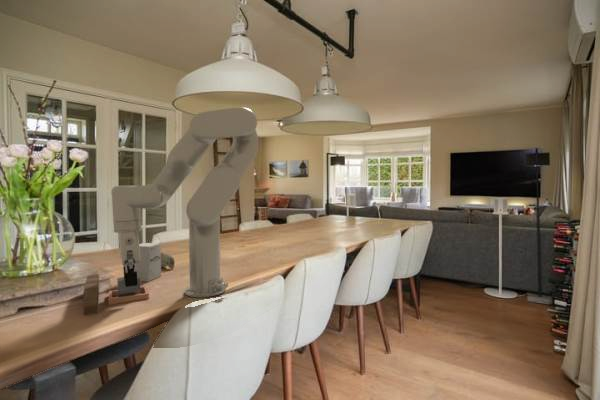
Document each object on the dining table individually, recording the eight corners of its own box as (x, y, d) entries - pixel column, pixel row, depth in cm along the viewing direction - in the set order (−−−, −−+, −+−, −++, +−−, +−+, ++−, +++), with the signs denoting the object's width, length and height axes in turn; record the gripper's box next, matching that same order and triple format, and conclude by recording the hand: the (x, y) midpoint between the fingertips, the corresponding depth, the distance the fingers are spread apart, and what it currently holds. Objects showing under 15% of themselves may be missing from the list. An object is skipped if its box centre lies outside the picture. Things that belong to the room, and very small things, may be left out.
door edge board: (97, 312, 91) (96, 290, 90) (84, 315, 89) (83, 292, 89) (99, 292, 108) (98, 273, 108) (88, 293, 107) (87, 274, 106)
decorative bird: (167, 271, 135) (167, 252, 134) (142, 266, 143) (142, 248, 142) (178, 268, 139) (178, 250, 139) (153, 263, 147) (153, 246, 147)
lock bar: (139, 294, 106) (138, 275, 106) (140, 297, 103) (140, 278, 103) (117, 297, 103) (117, 277, 103) (118, 301, 100) (117, 281, 100)
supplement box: (149, 281, 120) (148, 246, 119) (130, 280, 121) (130, 245, 120) (161, 276, 127) (161, 242, 126) (144, 275, 128) (143, 242, 128)
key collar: (146, 290, 110) (146, 286, 110) (149, 298, 102) (149, 293, 102) (108, 295, 104) (108, 291, 104) (108, 304, 97) (108, 299, 97)
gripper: (143, 228, 97) (146, 286, 98) (139, 222, 112) (141, 273, 113) (113, 230, 93) (117, 291, 94) (113, 224, 108) (116, 277, 109)
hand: (130, 281), depth 103 cm, fingers open, 9 cm apart
